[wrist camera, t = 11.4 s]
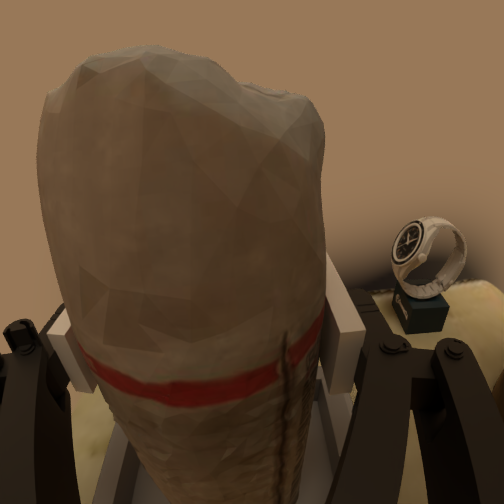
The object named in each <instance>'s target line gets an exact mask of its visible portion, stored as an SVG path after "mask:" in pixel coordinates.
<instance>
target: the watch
mask: <svg viewBox="0 0 504 504" xmlns="http://www.w3.org/2000/svg"><path fill="white" fill-rule="evenodd" d="M442 227H443V228H448V229H451V230H452V231H453V233H454V234H455V239H456V247H455V248H454V251H453V253H451V254H450V256H449V258H448V260H447V262H446V264H445V265H444V267H443V268H442V269H441V270H440V272H439V273H438V274H437V275H436V278H437V279H435V280H434V281H433V282H432V281H431V279H421V280H403V279H405V278H406V277H407V275H408V273H409V272H410V271H411V270H412V269H414V268H416V267H418V266H419V265H420V264H421V263H423V262H425V261H426V259H427V255H428V253H429V251H430V248H431V246H432V241H433V239H434V238H435V237H436V235H437V234H438V233H439V230H438V228H442ZM465 241H466V240H465V238H464V236H463V235H462V233H461V232H460V231H459V230H458V229H457V228H456V227H454V226H453V225H452V224H450V223H449V222H448V221H447V220H445V219H443V218H440V217H426V218H425V217H423V218H421V219H419V220H413V221H411V222H409V223H408V224H407V225H406V226H404V228H403V229H402V230H401V231H400V232H399V234H398V236H397V237H396V239H395V241H394V244H393V247H392V251H391V260H392V267H393V271H394V274H395V276H396V277H397V279H398V280H397V281H396V286H395V291H394V296H393V301H392V305H393V308H394V310H395V312H396V314H397V316H398V318H399V321H400V323H401V325H402V327H403V329H404V332H405V334H418V333H429V332H440V331H442V328H443V325H444V323H445V320H446V317H447V314H448V310H449V307H450V306H449V305H448V303H447V302H446V301H445V299H444V298H443V296H442V295H441V292H443V291H446V290H447V289H448V288H449V287H450V286H451V285H452V284H453V282H454V281H455V280H456V279H457V277H458V276H459V274H460V272H461V270H462V269H463V267H464V265H465V263H466V262H465V259H466V255H467V250H466V249H467V244H466V242H465ZM437 283H438V284H437Z"/></svg>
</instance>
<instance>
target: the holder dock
mask: <svg viewBox="0 0 504 504" xmlns="http://www.w3.org/2000/svg"><path fill="white" fill-rule="evenodd" d="M352 408H353V403H352V400H351V397H350V394H349V393H344V394H336V395H329V393H328V389H327V385H326V381H325V377H324V373H323V369H322V366H318V370H317V377H316V383H315V392H314V398H313V405H312V411H311V420H310V426H309V433H308V439H307V444H306V450H305V455H304V462H303V466H302V472H301V482H300V485H299V486H300V488H299V497H298V500H297V502H296V504H325V502H326V499H327V496H328V493H329V490H330V487H331V484H332V481H333V478H334V475H335V472H336V469H337V466H338V462H339V459H340V456H341V452H342V449H343V445H344V442H345V438H346V435H347V431H348V427H349V423H350V419H351V415H352V413H351V412H352ZM92 504H170V502H169V501H168V499H167V498H166V497H165V496H164V495H163V493H162V492H161V490H160V489H159V488H158V487H157V485H156V484H155V483H154V481H153V480H152V478H151V477H150V475H149V473H148V472H147V471H146V470H145V469H144V467H143V465H142V463H141V461H140V460H139V458H138V456H137V453H136V451H135V449H134V447H133V446H132V444H131V443H130V441H129V440H128V438H127V437H126V435H125V434H124V432H123V430H122V428H121V427H120V426H119V425H118V423H117V422H116V423H115V426H114V429H113V432H112V436H111V439H110V442H109V445H108V449H107V452H106V455H105V459H104V462H103V466H102V469H101V473H100V476H99V480H98V483H97V487H96V491H95V495H94V498H93V502H92Z"/></svg>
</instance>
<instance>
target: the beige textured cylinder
mask: <svg viewBox="0 0 504 504" xmlns="http://www.w3.org/2000/svg"><path fill="white" fill-rule="evenodd" d="M324 148H325V132H324V125H323V122H322V120H321V118H320V116H319V114H318V112H317V110H316V109H315V107H314V105H313V103H312V102H311V101H310V100H309V99H308V98H307V97H306V96H303V95H300V94H295V93H289V92H287V91H283V90H272V89H268V88H263V87H261V86H258V85H256V84H253V83H247V82H237V81H236V80H235V79H234V78H233V77H232V76H231V75H230V74H229V73H228V72H227V71H226V70H224V69H223V68H222V67H221V66H220V65H219V64H217V63H216V62H214V61H212V60H211V59H209V58H208V57H202V56H196V55H188V54H184V53H181V52H178V51H175V50H172V49H169V48H166V47H162V46H159V45H146V46H135V47H128V48H123V49H119V50H116V51H112V52H109V53H104V54H98V55H92V56H90V57H88V58H87V59H86V60H84V61H83V62H82V63H80V64H79V65H78V66H77V67H76V68H75V70H74V71H73V73H72V74H71V75H70V77H69V78H68V80H67V81H66V82H65V83H64V84H62V85H61V86H60V87H59V88H56V89H54V90H52V91H49V92H47V96H46V99H45V103H44V107H43V111H42V115H41V120H40V126H39V134H38V144H37V156H36V158H37V176H38V187H39V195H40V203H41V210H42V216H43V222H44V226H45V231H46V235H47V239H48V243H49V248H50V252H51V256H52V261H53V264H54V269H55V273H56V276H57V280H58V284H59V287H60V291H61V294H62V297H63V301H64V304H65V308H66V311H67V314H68V317H69V320H70V323H71V326H72V329H73V332H74V335H75V338H76V340H77V343H78V346H79V348H80V351H81V353H82V355H83V357H84V359H85V361H86V363H87V365H88V367H89V369H90V371H91V373H92V374H93V376H94V378H95V380H96V382H97V383H98V386H99V388H100V391H101V393H102V395H103V397H104V399H105V401H106V402H107V403H108V404H109V409H110V410H111V412H112V413H113V417H114V421H115V422H117V423H118V425H119V426H120V427H121V428H122V430H123V432H124V434H125V435H126V437H127V438H128V440H129V441H130V443H131V444H132V446H133V447H134V449H135V451H136V453H137V456H138V458H139V460H140V461H141V463H142V465H143V467H144V469H145V470H146V471H147V472H148V473H149V475H150V477H151V478H152V480H153V481H154V483H155V484H156V485H157V487H158V488H159V489H160V490H161V492H162V493H163V495H164V496H165V497H166V498H167V499H168V501H169V502H170V504H296V502H297V500H298V497H299V488H300V486H299V485H300V482H301V472H302V466H303V462H304V455H305V450H306V444H307V439H308V433H309V426H310V420H311V411H312V405H313V398H314V392H315V383H316V377H317V370H318V362H319V351H320V345H321V329H322V324H323V317H324V308H325V295H326V264H327V262H326V247H325V246H326V245H325V230H324V223H323V215H322V202H321V180H320V179H321V171H322V164H323V156H324Z"/></svg>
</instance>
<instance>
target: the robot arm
mask: <svg viewBox="0 0 504 504" xmlns="http://www.w3.org/2000/svg"><path fill="white" fill-rule="evenodd" d="M326 262H327V264H326V295H325V308H324V317H323V324H322V329H321V345H320V351H319V358H320V362H321V366H322V369H323V373H324V377H325V381H326V385H327V389H328V393H329V395H336V394H344V393H351V391H352V387H353V384H354V383H355V386H356V389H357V391H358V392H357V395H356V399H355V402H354V405H353V408H352V412H351V413H352V415H351V419H350V423H349V427H348V431H347V435H346V438H345V442H344V445H343V449H342V452H341V456H340V459H339V462H338V466H337V469H336V472H335V475H334V478H333V481H332V484H331V487H330V490H329V493H328V496H327V499H326V502H325V504H397V502H398V497H399V491H400V486H401V480H402V474H403V468H404V461H405V454H406V446H407V437H408V428H409V416H410V410H413V415H414V419H415V424H416V429H417V434H418V439H419V445H420V450H421V456H422V462H423V468H424V475H425V481H426V489H427V497H428V504H504V370H503V371H502V373H501V375H500V377H499V378H498V380H497V382H496V384H495V386H494V389H493V392H492V393H491V391H490V389H489V386H488V384H487V382H486V380H485V377H484V375H483V373H482V371H481V369H480V367H479V365H478V362H477V360H476V358H475V356H474V354H473V352H472V350H471V349H470V348H469V346H468V345H467V344H465V343H464V342H463V341H461V340H458V339H455V338H445V339H442V340H440V341H439V342H438V343H437V345H436V347H435V350H427V349H417V348H412V347H411V344H410V343H409V342H408V341H407V339H405V338H403V337H402V336H400V335H396V334H393V332H392V330H391V329H390V327H389V325H388V324H387V322H386V320H385V318H384V317H383V315H382V313H381V312H380V310H379V308H378V306H377V305H376V303H375V301H374V300H373V298H372V296H371V295H370V294H368V293H367V292H366V291H364V290H363V289H362V288H361V289H348V290H346V288H345V286H344V284H343V282H342V281H341V279H340V277H339V275H338V273H337V271H336V269H335V267H334V265H333V263H332V261H331V260H330V258H329V256H328V254H327V252H326ZM3 335H4V337H5V339H6V341H7V342H8V345H9V347H10V348H11V350H12V353H10V354H2V355H1V353H0V504H81V502H80V496H79V490H78V483H77V476H76V469H75V460H74V450H73V439H72V424H71V401H70V394H69V391H68V390H67V388H66V387H67V385H68V383H69V381H71V383H72V385H73V386H74V388H75V390H76V391H79V392H85V393H92V394H93V393H94V390H95V388H96V386H97V382H96V380H95V378H94V376H93V374H92V373H91V371H90V369H89V367H88V365H87V363H86V361H85V359H84V357H83V355H82V353H81V351H80V348H79V346H78V343H77V340H76V338H75V335H74V332H73V329H72V326H71V323H70V320H69V317H68V314H67V311H66V308H65V304H64V303H63V304H61V305H60V307H59V308H58V309H57V310H56V312H55V314H53V316H52V317H51V318H50V320H49V321H48V322H47V324H46V325H45V326H44V328H43V329H42V330H41V332H40V333H39V334H38V333H37V330H36V328H35V326H34V324H33V322H32V321H31V320H29V319H20V320H17V321H14V322H13V323H11V324H9V325H8V326H7V327H6V328H5V330H4V332H3Z"/></svg>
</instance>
